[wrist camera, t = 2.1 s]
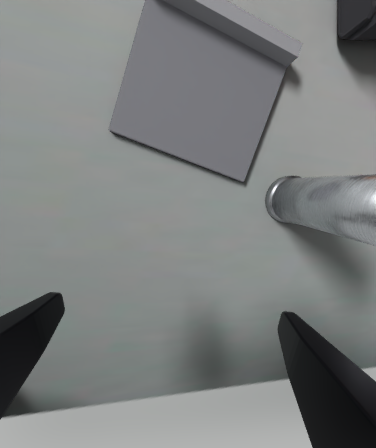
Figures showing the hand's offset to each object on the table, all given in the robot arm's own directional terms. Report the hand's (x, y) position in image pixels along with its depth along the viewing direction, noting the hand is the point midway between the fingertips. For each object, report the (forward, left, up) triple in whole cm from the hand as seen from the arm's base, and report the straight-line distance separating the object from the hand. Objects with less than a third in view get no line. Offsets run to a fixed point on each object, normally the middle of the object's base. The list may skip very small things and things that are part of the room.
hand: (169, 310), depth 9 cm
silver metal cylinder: (+7, -10, -11) cm, 17 cm away
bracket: (+12, +1, -11) cm, 17 cm away
